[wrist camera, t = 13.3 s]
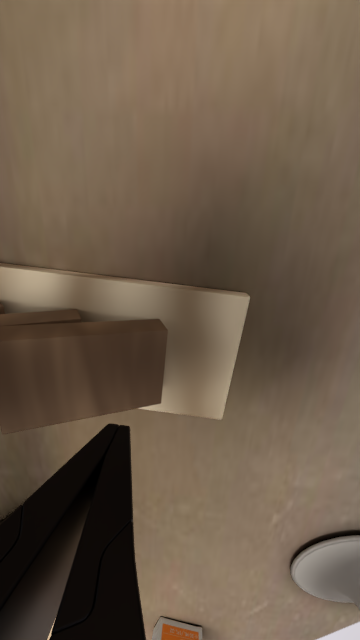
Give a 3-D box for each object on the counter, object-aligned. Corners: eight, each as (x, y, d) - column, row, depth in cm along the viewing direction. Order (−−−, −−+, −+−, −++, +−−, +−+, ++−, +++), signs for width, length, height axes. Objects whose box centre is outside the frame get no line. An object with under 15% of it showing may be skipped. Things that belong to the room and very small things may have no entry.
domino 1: (168, 330, 12) (-21, 342, 9) (161, 403, 14) (2, 434, 11) (159, 318, 13) (-8, 326, 10) (154, 387, 15) (11, 410, 12)
